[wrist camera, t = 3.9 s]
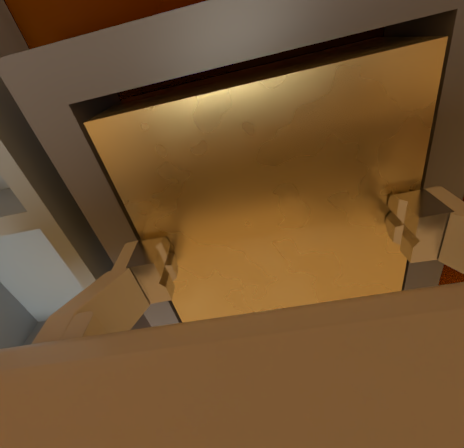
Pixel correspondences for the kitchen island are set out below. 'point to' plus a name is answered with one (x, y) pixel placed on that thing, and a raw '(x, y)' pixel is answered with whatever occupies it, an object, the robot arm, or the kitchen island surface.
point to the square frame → (206, 58)
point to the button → (278, 173)
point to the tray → (37, 223)
